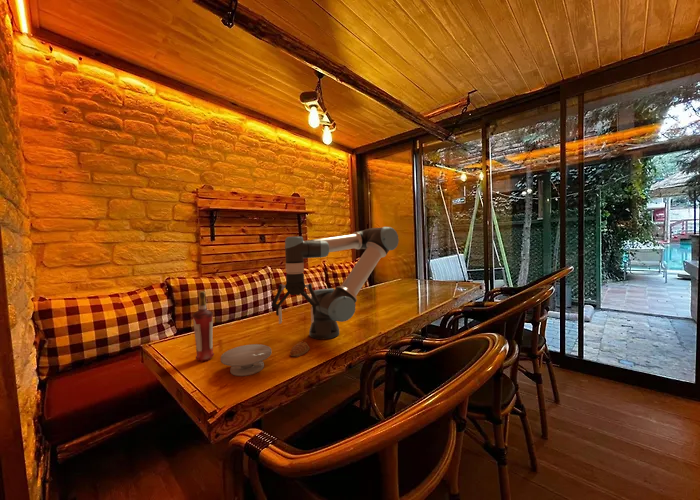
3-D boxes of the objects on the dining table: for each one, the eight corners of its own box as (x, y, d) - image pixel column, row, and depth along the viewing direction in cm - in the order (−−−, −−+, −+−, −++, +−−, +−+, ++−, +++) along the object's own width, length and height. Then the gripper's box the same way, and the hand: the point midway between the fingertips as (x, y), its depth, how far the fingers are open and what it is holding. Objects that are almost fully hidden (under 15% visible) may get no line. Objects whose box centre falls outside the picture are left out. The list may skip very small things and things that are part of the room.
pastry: (300, 358, 117) (300, 349, 117) (285, 357, 119) (285, 348, 119) (310, 350, 126) (310, 341, 126) (296, 348, 128) (296, 340, 128)
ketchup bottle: (193, 358, 120) (190, 292, 119) (212, 353, 125) (209, 289, 123) (196, 364, 114) (193, 294, 113) (216, 359, 119) (213, 291, 118)
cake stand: (276, 357, 118) (276, 343, 118) (265, 379, 100) (264, 362, 100) (232, 359, 118) (231, 345, 117) (212, 381, 100) (211, 364, 100)
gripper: (324, 271, 126) (326, 319, 127) (267, 272, 125) (269, 320, 126) (323, 273, 119) (325, 324, 119) (262, 274, 118) (264, 325, 119)
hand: (296, 322), depth 123 cm, fingers open, 13 cm apart
